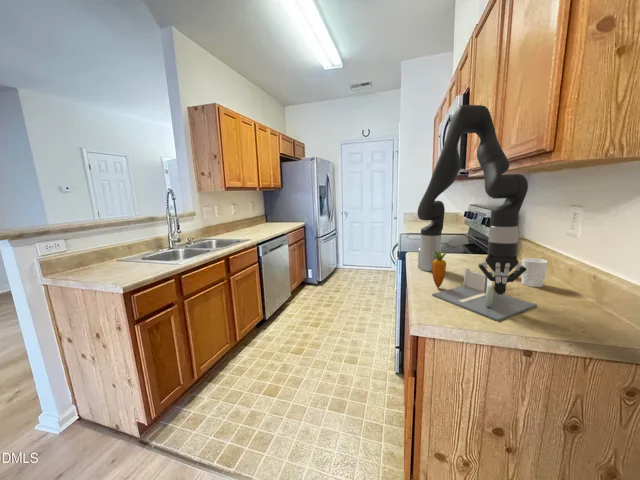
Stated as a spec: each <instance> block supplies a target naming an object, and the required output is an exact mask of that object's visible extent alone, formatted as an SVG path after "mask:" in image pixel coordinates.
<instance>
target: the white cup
mask: <svg viewBox="0 0 640 480" xmlns="http://www.w3.org/2000/svg"><path fill="white" fill-rule="evenodd" d="M548 263H549V262H548V260H545V259H543V258H542V259H541V258H538V257H522V258H521V265H522V266H524V267H525V268H526V271H525V272H524V273H522V274H521V275H520V277H521V279H520V282H521V284H522V285H523V286H527V287H530V288H531V287H532V288H542V287H544V282H545V281H544V280H545V279H546V275H547V267H548Z"/></svg>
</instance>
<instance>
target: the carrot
mask: <svg viewBox="0 0 640 480" xmlns="http://www.w3.org/2000/svg"><path fill="white" fill-rule="evenodd" d="M435 254H436V255H437V256H435V257H436V258H437V259H435V260H434V261H433V262H432V271H431V272H432V279H433V282H434V285H435V286H436V288H437V289H439V288H440V287H441V286H442V284H443V282H444V280H445V275H446V269H447V261H446V260H444V257H445V256H446V254H447V252H443V253H442V252H439V254H438V252H437V250H435Z"/></svg>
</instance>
